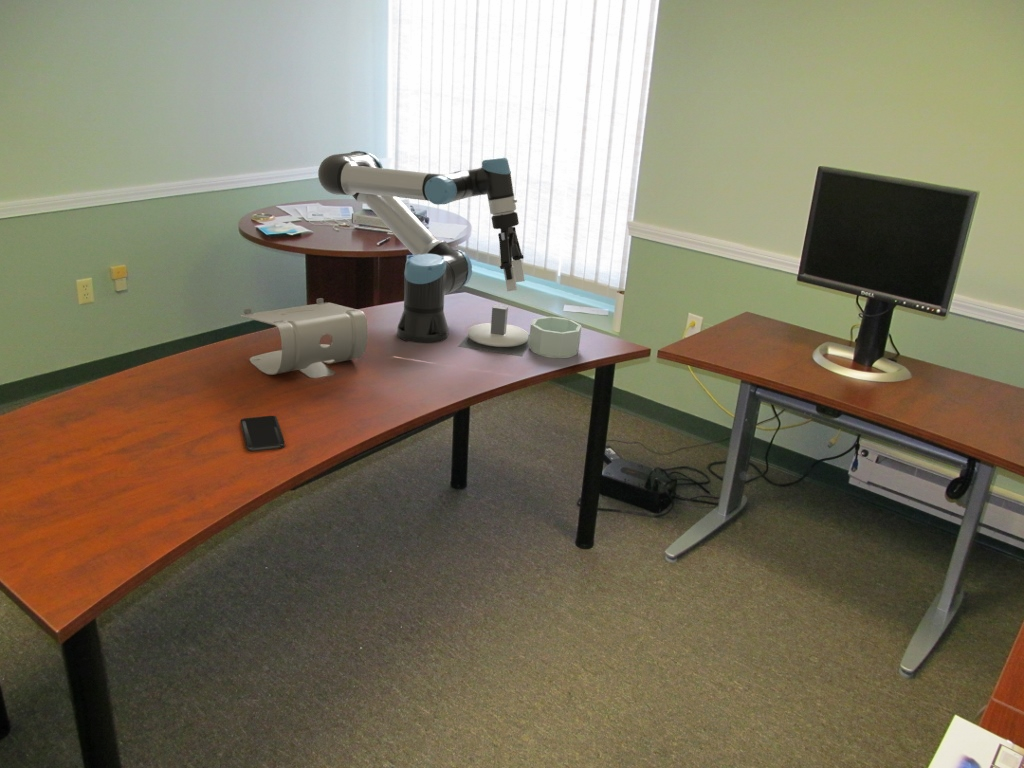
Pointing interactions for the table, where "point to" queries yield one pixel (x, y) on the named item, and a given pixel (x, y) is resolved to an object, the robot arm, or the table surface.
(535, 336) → the bowl
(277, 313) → the portable electronic device stand
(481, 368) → the table surface
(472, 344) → the mat
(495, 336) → the lid
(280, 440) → the phone
